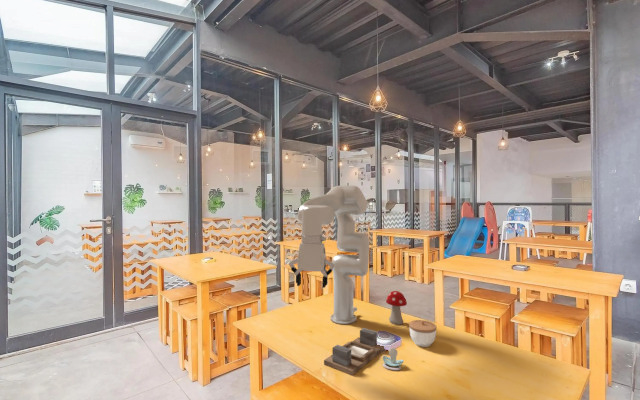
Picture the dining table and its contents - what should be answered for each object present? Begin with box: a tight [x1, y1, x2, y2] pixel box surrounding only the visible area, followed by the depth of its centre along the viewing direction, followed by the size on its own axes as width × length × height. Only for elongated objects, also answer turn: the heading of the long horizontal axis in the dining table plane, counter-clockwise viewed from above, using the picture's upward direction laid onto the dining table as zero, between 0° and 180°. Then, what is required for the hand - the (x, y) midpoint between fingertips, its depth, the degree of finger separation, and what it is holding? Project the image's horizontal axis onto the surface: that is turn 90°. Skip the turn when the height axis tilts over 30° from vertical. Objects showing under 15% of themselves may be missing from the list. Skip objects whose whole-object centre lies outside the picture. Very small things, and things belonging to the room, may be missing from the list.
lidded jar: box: [408, 319, 438, 348], centre depth 136 cm, size 11×11×9 cm
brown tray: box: [323, 327, 385, 376], centre depth 125 cm, size 24×12×6 cm, turn 143°
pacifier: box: [382, 347, 404, 371], centre depth 118 cm, size 7×6×6 cm
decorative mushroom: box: [385, 290, 407, 326], centre depth 158 cm, size 10×9×15 cm
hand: (311, 285), depth 123 cm, fingers open, 9 cm apart
